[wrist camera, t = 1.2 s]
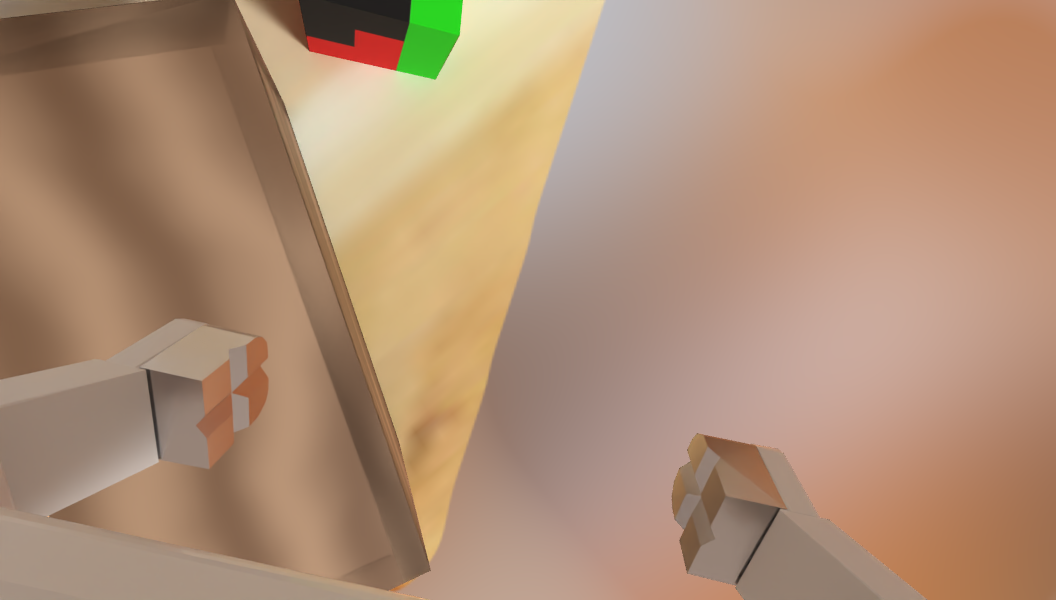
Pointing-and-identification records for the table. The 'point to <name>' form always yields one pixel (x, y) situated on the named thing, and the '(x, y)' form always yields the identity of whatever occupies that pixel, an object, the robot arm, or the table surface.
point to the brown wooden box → (195, 279)
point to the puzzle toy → (385, 32)
